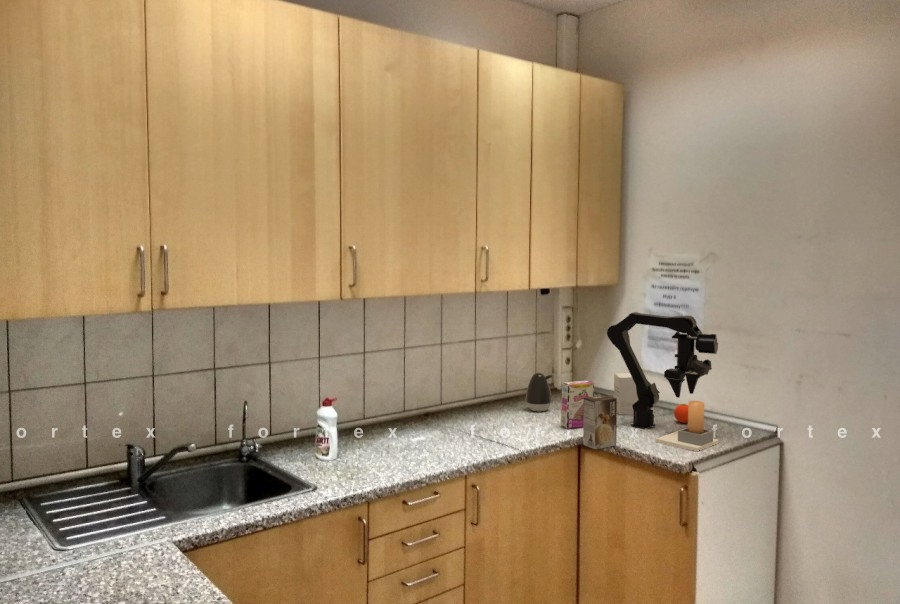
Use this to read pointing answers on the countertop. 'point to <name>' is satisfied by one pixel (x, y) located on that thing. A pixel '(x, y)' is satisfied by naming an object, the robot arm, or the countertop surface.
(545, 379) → the pump dispenser
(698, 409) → the orange rounded part
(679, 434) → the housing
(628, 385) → the supplement box
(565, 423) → the candy bar box
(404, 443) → the countertop surface
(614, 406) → the coffee box
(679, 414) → the clementine
